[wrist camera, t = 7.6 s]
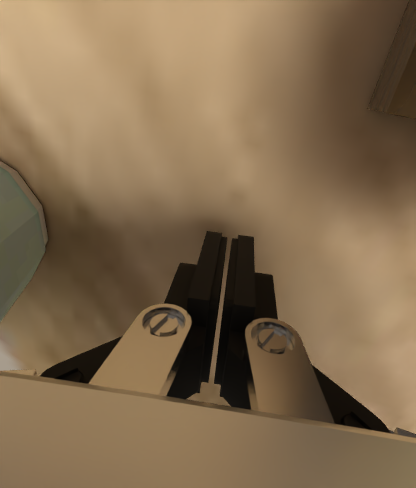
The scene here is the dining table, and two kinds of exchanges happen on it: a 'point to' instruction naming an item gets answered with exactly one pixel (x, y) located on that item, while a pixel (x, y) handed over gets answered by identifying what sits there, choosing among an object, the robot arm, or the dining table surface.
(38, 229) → the disposable coffee cup
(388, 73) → the balance
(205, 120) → the dining table surface
